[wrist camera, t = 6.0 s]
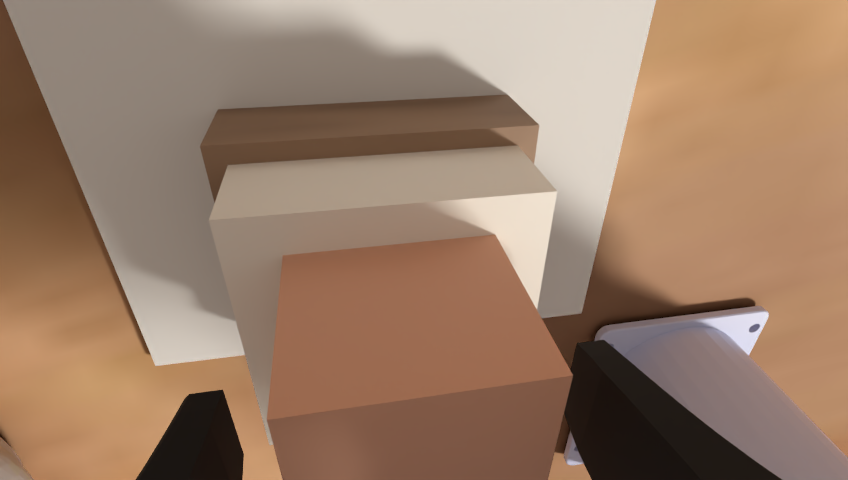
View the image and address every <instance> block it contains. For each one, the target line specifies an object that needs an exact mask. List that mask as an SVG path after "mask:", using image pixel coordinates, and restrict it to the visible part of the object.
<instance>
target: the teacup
mask: <svg viewBox="0 0 848 480" xmlns="http://www.w3.org/2000/svg"><path fill="white" fill-rule="evenodd" d="M0 480H33V478H32V477H31V475H30V474H29V473H28V472H27V471H26V469H25V468H24V467H23V465H22V463H21V460H20V459H19V457H18V456H17V454H16V453H15V452H14V450H13V449H12V448H11V447H10V446H9V445H8V444H7V443H6V442H5V441H4V440H3V439H2V438H1V437H0Z"/></svg>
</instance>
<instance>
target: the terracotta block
mask: <svg viewBox="0 0 848 480" xmlns="http://www.w3.org/2000/svg"><path fill="white" fill-rule="evenodd" d="M572 378H573V374H572V373H571V371H570V369H569V367H568V365H567V363H566V362H565V360H564V358H563V356H562V354H561V353H560V351H559V349H558V347H557V345H556V344H555V342H554V340H553V338H552V336H551V335H550V333H549V331H548V329H547V327H546V325H545V324H544V322H543V320H542V318H541V316H540V315H539V313H538V311H537V309H536V307H535V306H534V304H533V302H532V300H531V298H530V296H529V295H528V293H527V291H526V289H525V287H524V286H523V284H522V282H521V280H520V278H519V277H518V275H517V273H516V271H515V269H514V268H513V266H512V264H511V262H510V260H509V258H508V257H507V255H506V253H505V251H504V249H503V248H502V246H501V244H500V242H499V240H498V239H497V237H496V235H485V236H475V237H465V238H455V239H445V240H434V241H424V242H414V243H404V244H394V245H383V246H373V247H363V248H353V249H343V250H332V251H322V252H312V253H302V254H292V255H283V257H282V267H281V278H280V288H279V298H278V309H277V319H276V329H275V340H274V350H273V360H272V371H271V381H270V391H269V402H268V412H267V423H268V427H269V430H270V434H271V438H272V441H273V445H274V449H275V452H276V456H277V460H278V464H279V467H280V471H281V475H282V478H283V480H548V477H549V472H550V468H551V464H552V460H553V456H554V452H555V448H556V444H557V440H558V435H559V431H560V427H561V423H562V419H563V415H564V411H565V407H566V403H567V399H568V394H569V390H570V386H571V382H572Z"/></svg>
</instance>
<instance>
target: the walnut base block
mask: <svg viewBox="0 0 848 480" xmlns="http://www.w3.org/2000/svg"><path fill="white" fill-rule="evenodd" d="M538 132H539V124H538V123H537V122H536V121H535V120H534V119H533V118H532V117H530V116H529V115H528V114H527V113H526V112H525V111H524V110H523V109H522V108H521V107H520V106H519V105H518V104H517V103H516V102H515V101H514V100H513V99H512V98H511V97H510V96H509V95H488V96H469V97H449V98H430V99H411V100H391V101H372V102H352V103H333V104H313V105H294V106H274V107H255V108H235V109H218V110H217V112H216V114H215V116H214V118H213V120H212V122H211V124H210V126H209V128H208V130H207V132H206V134H205V136H204V138H203V140H202V143H201V145H200V149H201V153H202V157H203V161H204V164H205V168H206V172H207V176H208V180H209V184H210V188H211V192H212V196H213V199H214V203H215V201H216V198H217V195H218V192H219V189H220V186H221V183H222V180H223V177H224V175H225V172H226V169H227V166H228V165H235V164H250V163H265V162H280V161H295V160H309V159H324V158H339V157H354V156H369V155H383V154H398V153H413V152H428V151H442V150H457V149H472V148H487V147H502V146H516V145H518V146H519V147H520V148H521V150H522V151H523V152H524V153H525V154H526V155H527V157H528V158H529V159H530V160H531V161H532V162H533V164H534V161H535V154H536V146H537V139H538Z"/></svg>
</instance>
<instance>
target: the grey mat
mask: <svg viewBox="0 0 848 480" xmlns="http://www.w3.org/2000/svg"><path fill="white" fill-rule="evenodd" d="M3 2H4V4H5V6H6V9H7V11H8V14H9V16H10V18H11V21H12V23H13V26H14V28H15V30H16V33H17V35H18V38H19V40H20V42H21V45H22V47H23V50H24V52H25V54H26V57H27V59H28V62H29V64H30V66H31V69H32V71H33V73H34V76H35V78H36V81H37V83H38V85H39V88H40V90H41V93H42V95H43V97H44V100H45V102H46V105H47V107H48V109H49V112H50V114H51V117H52V119H53V121H54V124H55V126H56V129H57V131H58V133H59V136H60V138H61V141H62V143H63V145H64V148H65V150H66V153H67V155H68V157H69V160H70V162H71V165H72V167H73V169H74V172H75V174H76V176H77V179H78V181H79V184H80V186H81V188H82V191H83V193H84V196H85V198H86V200H87V203H88V205H89V208H90V210H91V212H92V215H93V217H94V220H95V222H96V224H97V227H98V229H99V232H100V234H101V236H102V239H103V241H104V244H105V246H106V248H107V251H108V253H109V256H110V258H111V260H112V263H113V265H114V268H115V270H116V272H117V275H118V277H119V280H120V282H121V284H122V287H123V289H124V291H125V294H126V296H127V299H128V301H129V303H130V306H131V308H132V311H133V313H134V315H135V318H136V320H137V323H138V325H139V327H140V330H141V332H142V335H143V337H144V339H145V342H146V344H147V347H148V349H149V351H150V354H151V356H152V359H153V361H154V363H155V366H159V365H167V364H175V363H183V362H192V361H200V360H208V359H216V358H224V357H232V356H240V355H245V353H244V349H243V345H242V342H241V338H240V334H239V330H238V327H237V323H236V319H235V316H234V312H233V308H232V305H231V301H230V297H229V294H228V290H227V286H226V282H225V279H224V275H223V271H222V268H221V264H220V260H219V257H218V253H217V249H216V246H215V242H214V238H213V234H212V231H211V227H210V223H209V218H210V215H211V212H212V209H213V206H214V204H215V203H214V199H213V196H212V192H211V188H210V184H209V180H208V176H207V172H206V168H205V164H204V161H203V157H202V153H201V149H200V145H201V143H202V140H203V138H204V136H205V134H206V132H207V130H208V128H209V126H210V124H211V122H212V120H213V118H214V116H215V114H216V112H217V110H218V109H235V108H255V107H274V106H294V105H313V104H333V103H352V102H372V101H391V100H411V99H430V98H449V97H469V96H488V95H509V96H510V97H511V98H512V99H513V100H514V101H515V102H516V103H517V104H518V105H519V106H520V107H521V108H522V109H523V110H524V111H525V112H526V113H527V114H528V115H529V116H530V117H532V118H533V119H534V120H535V121H536V122H537V123H538V124H539V132H538V139H537V146H536V154H535V161H534V165H535V166H536V167H537V168H538V169H539V171H540V172H541V173H542V174H543V175H544V176H545V178H546V179H547V180H548V181H549V182H550V183H551V185H552V186H553V187H554V188H555V189H556V190H557V196H556V202H555V208H554V214H553V220H552V225H551V231H550V237H549V243H548V249H547V254H546V260H545V266H544V272H543V278H542V284H541V289H540V295H539V301H538V307H537V311H538V313H539V315H540V316H541V318H548V317H556V316H565V315H573V314H581V313H582V309H583V305H584V301H585V297H586V293H587V288H588V284H589V280H590V276H591V271H592V267H593V263H594V259H595V255H596V250H597V246H598V242H599V238H600V234H601V229H602V225H603V221H604V217H605V213H606V208H607V204H608V200H609V196H610V192H611V187H612V183H613V179H614V175H615V170H616V166H617V162H618V158H619V154H620V149H621V145H622V141H623V137H624V133H625V128H626V124H627V120H628V116H629V112H630V107H631V103H632V99H633V95H634V91H635V86H636V82H637V78H638V74H639V69H640V65H641V61H642V57H643V53H644V48H645V44H646V40H647V36H648V32H649V27H650V23H651V19H652V15H653V11H654V6H655V2H656V0H3Z"/></svg>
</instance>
